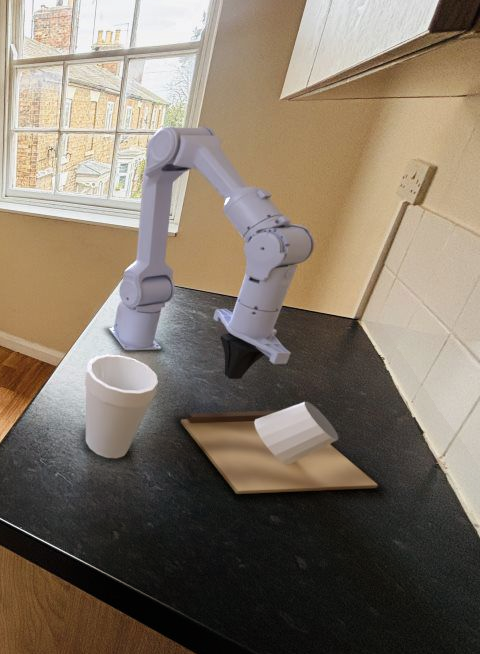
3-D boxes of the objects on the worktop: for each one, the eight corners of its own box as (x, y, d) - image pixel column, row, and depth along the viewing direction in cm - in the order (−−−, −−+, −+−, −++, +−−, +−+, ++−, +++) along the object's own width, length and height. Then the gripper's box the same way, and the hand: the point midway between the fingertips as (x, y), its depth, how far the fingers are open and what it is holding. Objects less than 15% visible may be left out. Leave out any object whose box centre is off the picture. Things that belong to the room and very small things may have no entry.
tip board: (180, 422, 66) (182, 413, 66) (295, 418, 68) (299, 409, 67) (236, 494, 54) (240, 484, 53) (376, 488, 55) (382, 478, 54)
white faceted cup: (326, 412, 58) (278, 433, 62) (293, 388, 57) (247, 411, 61) (351, 454, 53) (297, 473, 57) (315, 428, 52) (263, 450, 56)
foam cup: (151, 462, 58) (172, 390, 53) (91, 470, 57) (106, 396, 51) (119, 418, 67) (133, 352, 61) (66, 424, 65) (76, 356, 60)
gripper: (323, 325, 56) (288, 403, 62) (250, 285, 69) (227, 353, 75) (274, 326, 56) (244, 404, 61) (211, 286, 69) (191, 353, 75)
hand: (232, 376), depth 68 cm, fingers closed
